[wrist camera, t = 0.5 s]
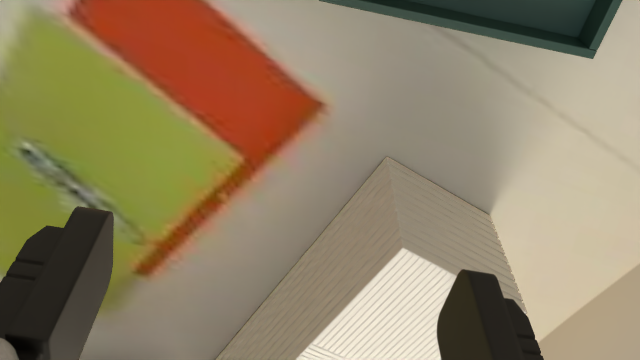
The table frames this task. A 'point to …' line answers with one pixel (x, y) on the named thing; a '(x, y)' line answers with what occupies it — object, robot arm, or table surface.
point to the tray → (510, 19)
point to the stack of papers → (376, 276)
